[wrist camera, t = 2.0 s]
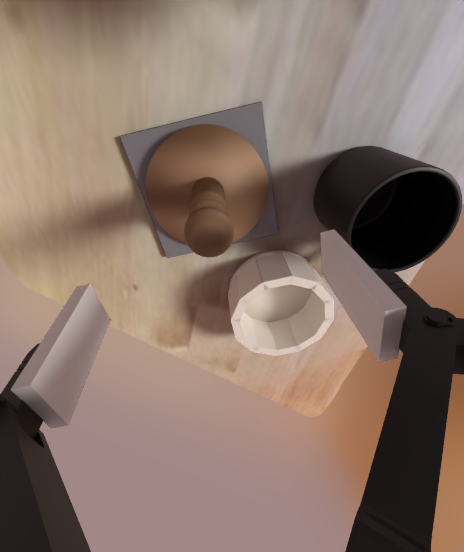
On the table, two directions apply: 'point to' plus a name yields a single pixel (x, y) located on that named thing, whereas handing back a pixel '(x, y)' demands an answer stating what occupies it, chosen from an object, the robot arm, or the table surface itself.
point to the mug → (388, 206)
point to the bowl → (278, 303)
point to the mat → (237, 119)
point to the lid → (206, 187)
